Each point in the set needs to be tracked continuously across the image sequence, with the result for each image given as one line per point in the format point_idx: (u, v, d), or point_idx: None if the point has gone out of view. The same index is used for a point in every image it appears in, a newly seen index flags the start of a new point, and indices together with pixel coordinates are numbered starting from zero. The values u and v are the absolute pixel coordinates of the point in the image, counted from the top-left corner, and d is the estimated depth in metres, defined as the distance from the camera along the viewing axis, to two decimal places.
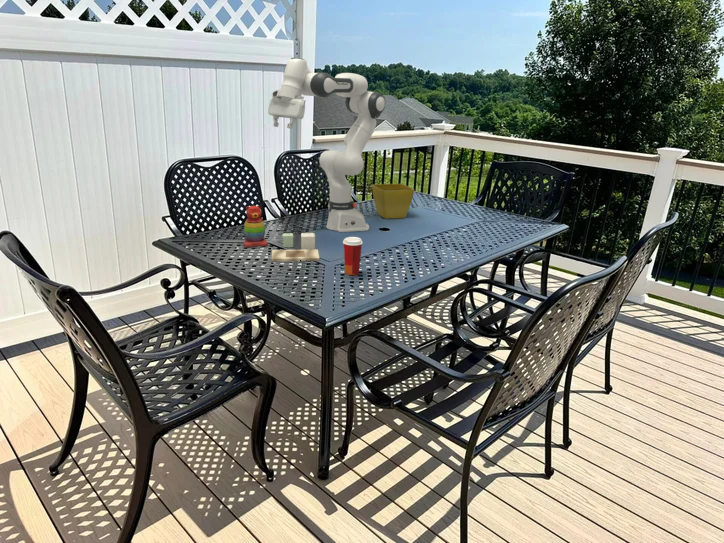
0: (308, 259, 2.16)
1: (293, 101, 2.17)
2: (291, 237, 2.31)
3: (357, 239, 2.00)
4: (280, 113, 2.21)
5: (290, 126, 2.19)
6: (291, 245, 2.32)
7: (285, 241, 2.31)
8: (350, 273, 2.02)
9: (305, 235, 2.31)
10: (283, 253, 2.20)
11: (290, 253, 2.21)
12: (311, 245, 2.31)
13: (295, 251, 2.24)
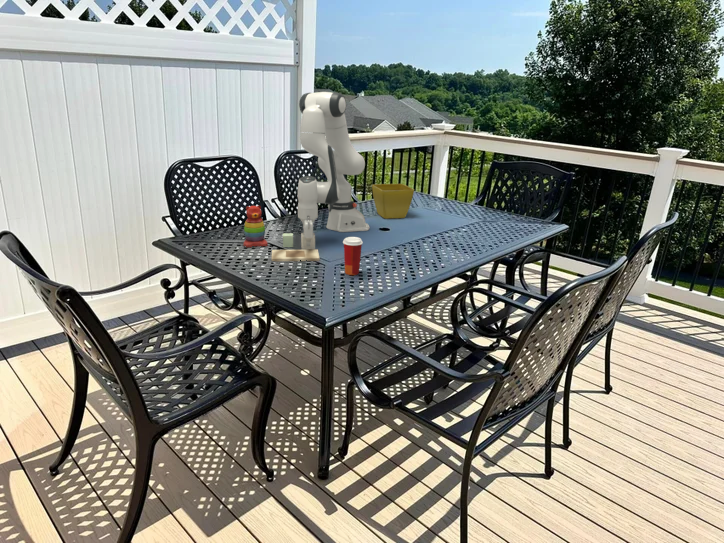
0: (308, 259, 2.16)
1: (304, 222, 2.24)
2: (291, 237, 2.31)
3: (357, 239, 2.00)
4: None
5: (307, 244, 2.29)
6: (291, 245, 2.32)
7: (285, 241, 2.31)
8: (350, 273, 2.02)
9: None
10: (283, 253, 2.20)
11: (290, 253, 2.21)
12: (311, 245, 2.31)
13: (295, 251, 2.24)
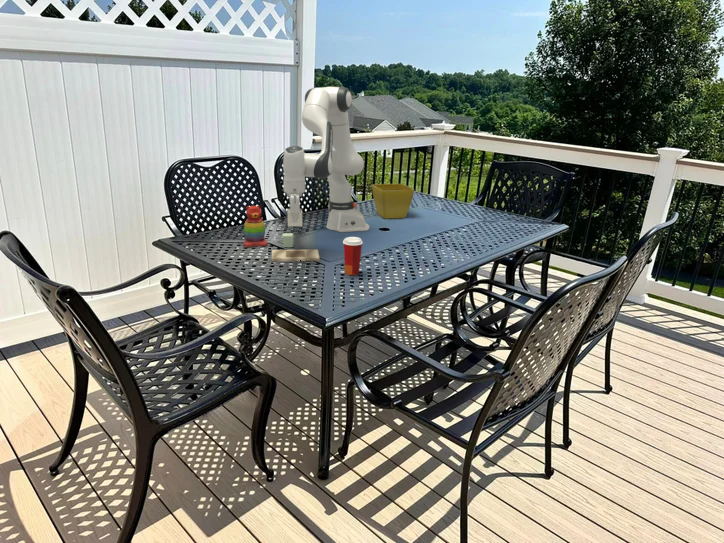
0: (308, 259, 2.16)
1: (290, 196, 2.06)
2: (291, 237, 2.31)
3: (357, 239, 2.00)
4: None
5: (294, 220, 2.11)
6: (291, 245, 2.32)
7: (285, 241, 2.31)
8: (350, 273, 2.02)
9: None
10: (283, 253, 2.20)
11: (290, 253, 2.21)
12: (298, 221, 2.13)
13: (295, 251, 2.24)
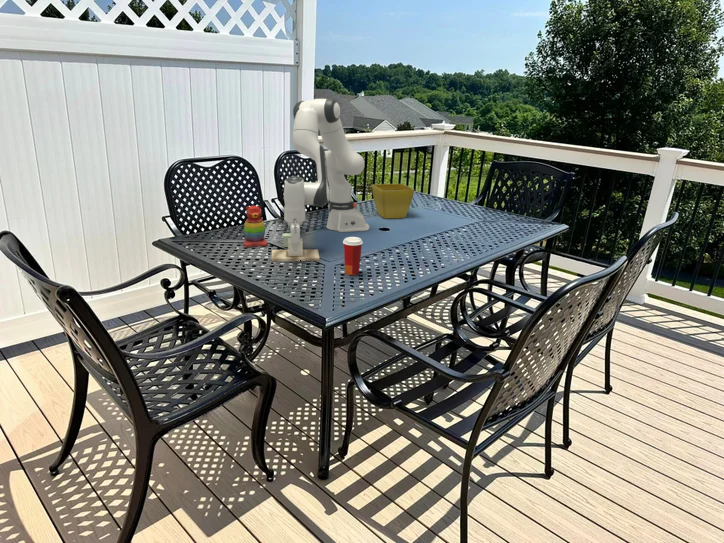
0: (308, 259, 2.16)
1: None
2: None
3: (357, 239, 2.00)
4: None
5: (294, 249, 2.14)
6: None
7: (285, 241, 2.31)
8: (350, 273, 2.02)
9: None
10: (283, 253, 2.20)
11: None
12: (299, 251, 2.18)
13: None
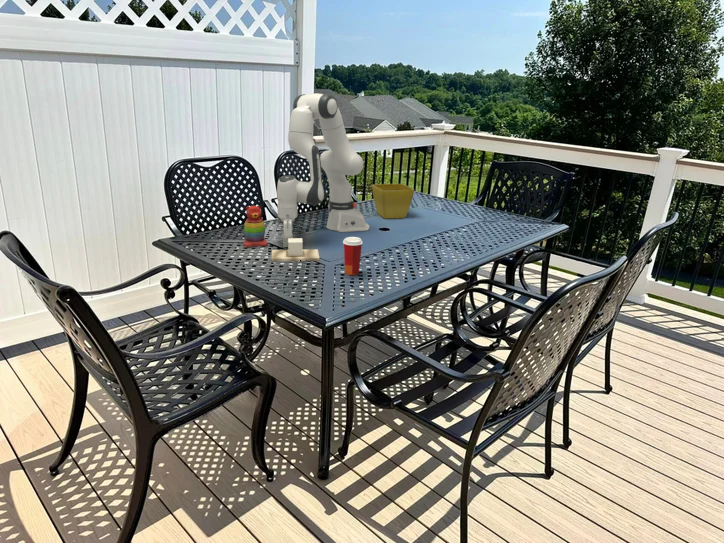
0: (308, 259, 2.16)
1: (283, 222, 2.25)
2: None
3: (357, 239, 2.00)
4: None
5: (287, 243, 2.30)
6: None
7: (285, 241, 2.31)
8: (350, 273, 2.02)
9: (292, 240, 2.18)
10: (283, 253, 2.20)
11: None
12: (299, 251, 2.18)
13: None
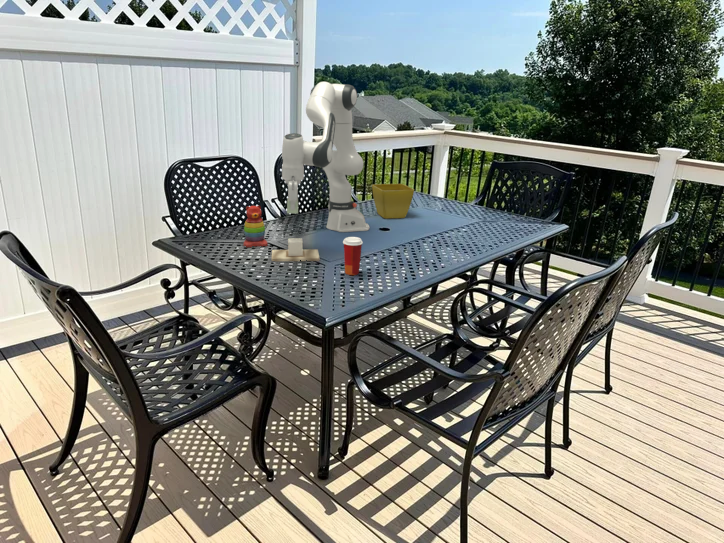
0: (308, 259, 2.16)
1: (288, 183, 2.06)
2: (296, 201, 2.12)
3: (357, 239, 2.00)
4: None
5: (292, 208, 2.11)
6: (296, 210, 2.13)
7: (289, 205, 2.12)
8: (350, 273, 2.02)
9: (292, 240, 2.18)
10: (283, 253, 2.20)
11: None
12: (299, 251, 2.18)
13: None
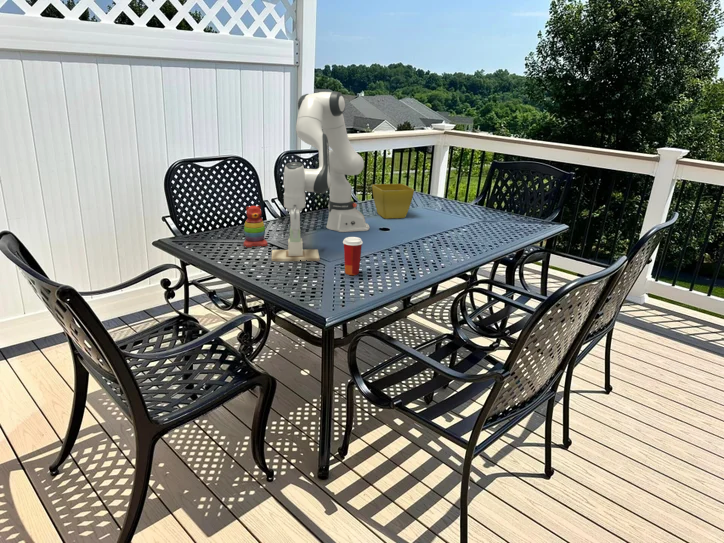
0: (308, 259, 2.16)
1: None
2: (298, 230, 2.15)
3: (357, 239, 2.00)
4: None
5: (294, 236, 2.12)
6: (298, 239, 2.16)
7: (292, 234, 2.15)
8: (350, 273, 2.02)
9: None
10: (283, 253, 2.20)
11: None
12: (299, 251, 2.18)
13: None
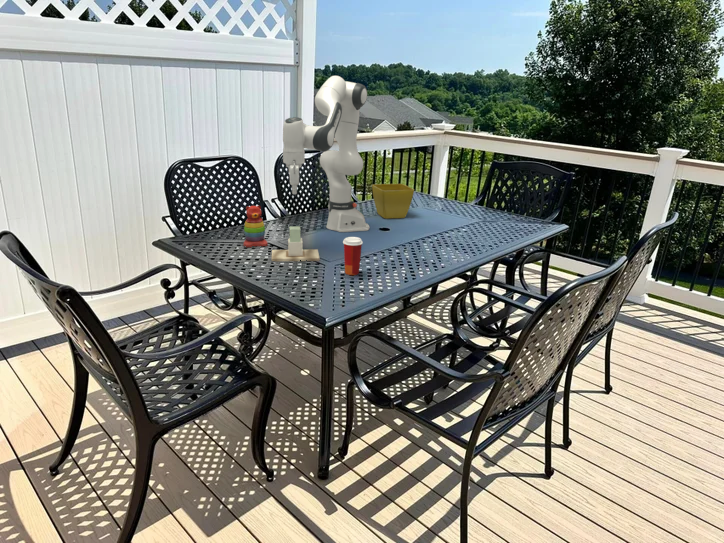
0: (308, 259, 2.16)
1: None
2: (298, 230, 2.15)
3: (357, 239, 2.00)
4: None
5: (293, 192, 2.12)
6: (298, 239, 2.16)
7: (292, 234, 2.15)
8: (350, 273, 2.02)
9: None
10: (283, 253, 2.20)
11: None
12: (299, 251, 2.18)
13: None
